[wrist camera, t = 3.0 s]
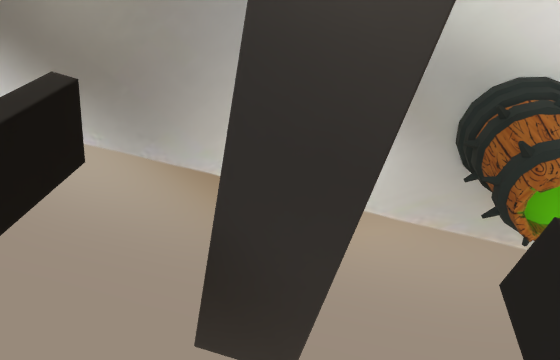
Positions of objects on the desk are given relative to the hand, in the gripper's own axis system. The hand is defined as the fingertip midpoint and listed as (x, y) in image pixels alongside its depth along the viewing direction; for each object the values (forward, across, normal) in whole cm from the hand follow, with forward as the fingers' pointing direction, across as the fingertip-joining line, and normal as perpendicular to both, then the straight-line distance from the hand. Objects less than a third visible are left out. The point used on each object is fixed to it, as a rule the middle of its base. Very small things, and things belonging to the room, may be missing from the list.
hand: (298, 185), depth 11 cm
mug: (+24, +18, -5) cm, 30 cm away
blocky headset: (+13, 0, 0) cm, 13 cm away
